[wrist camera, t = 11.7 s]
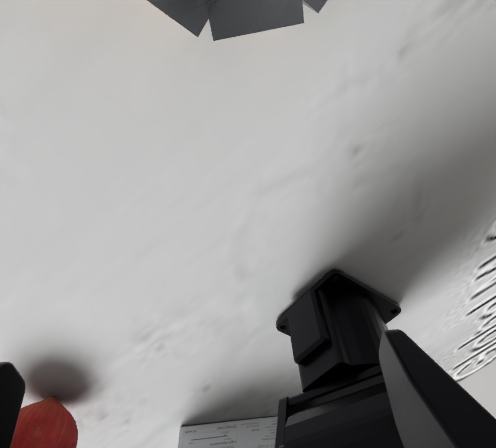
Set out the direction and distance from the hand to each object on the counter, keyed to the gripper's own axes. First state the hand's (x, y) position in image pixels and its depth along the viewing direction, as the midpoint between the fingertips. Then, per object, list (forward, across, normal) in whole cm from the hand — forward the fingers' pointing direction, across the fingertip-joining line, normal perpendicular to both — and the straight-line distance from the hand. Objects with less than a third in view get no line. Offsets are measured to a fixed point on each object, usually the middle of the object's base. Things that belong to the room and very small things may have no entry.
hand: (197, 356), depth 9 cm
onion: (+13, +17, +21) cm, 30 cm away
